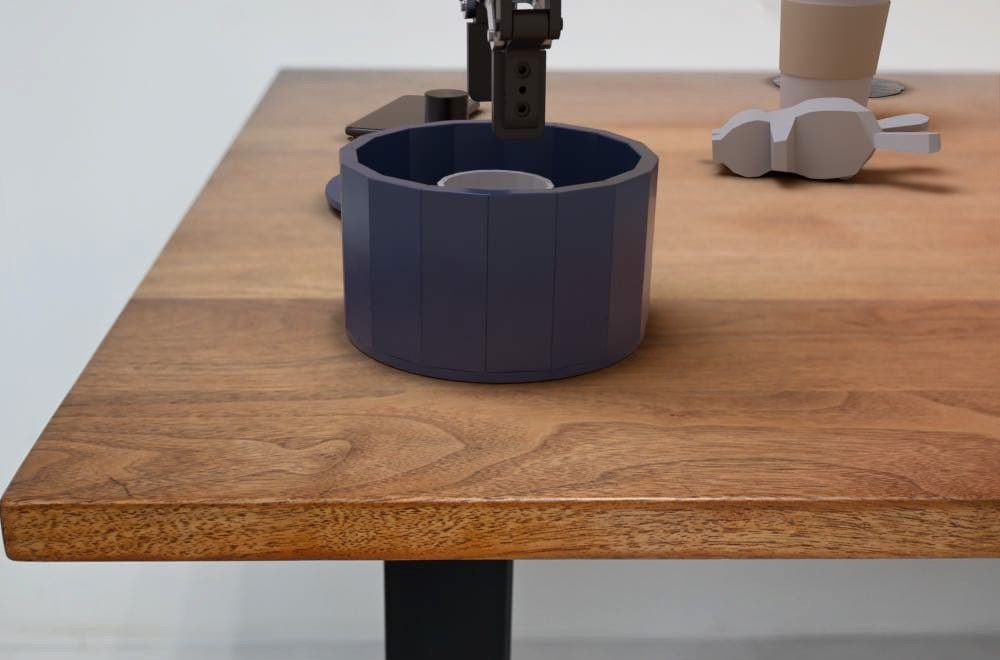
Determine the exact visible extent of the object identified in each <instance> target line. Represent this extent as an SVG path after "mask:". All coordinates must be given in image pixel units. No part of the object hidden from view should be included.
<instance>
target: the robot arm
mask: <svg viewBox="0 0 1000 660" xmlns="http://www.w3.org/2000/svg"><path fill="white" fill-rule="evenodd" d="M458 2H460V3H459V8H460V12H462V16H463V20H472V21H466V92H467V93H468V95H469V99H472V100H473V101H476V102H480V103H488V102H489V103H491V113H490V114H491V119H490V120H491V126H492V131H493V133H494V134H495V136H496V137H497V138H498V139H500V140H503V141H513V140H535V139H538V138H540V137H541V136H542V135H543V133H544V131H545V122H546V104H547V103H546V99H547V98H546V96H547V93H546V92H547V50H551V48H552V46H553V41H554V40H555V41H556V40H557V41H558V40H560V39H561V32H562V31H563V29H564V18H563V17H562V0H458ZM518 4H527V5H530V6H531V7H532V8H518Z"/></svg>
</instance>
